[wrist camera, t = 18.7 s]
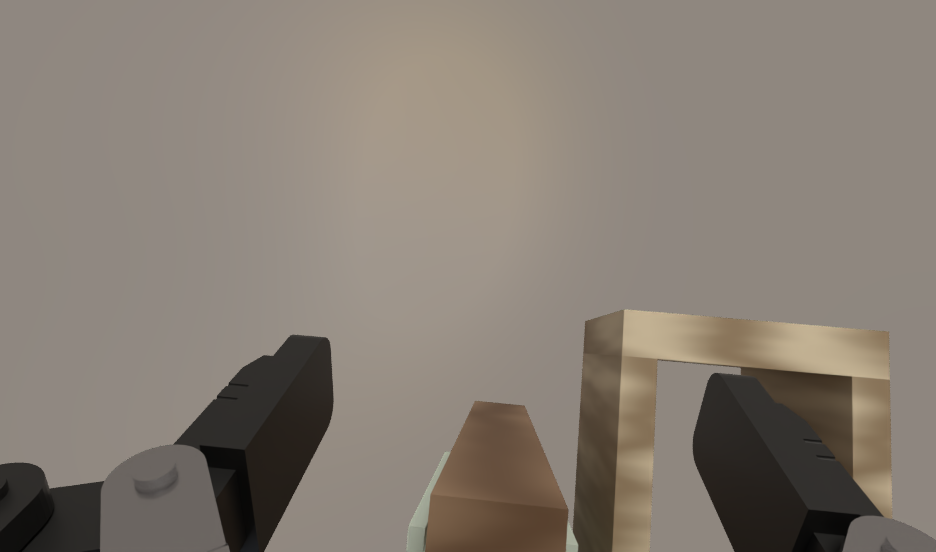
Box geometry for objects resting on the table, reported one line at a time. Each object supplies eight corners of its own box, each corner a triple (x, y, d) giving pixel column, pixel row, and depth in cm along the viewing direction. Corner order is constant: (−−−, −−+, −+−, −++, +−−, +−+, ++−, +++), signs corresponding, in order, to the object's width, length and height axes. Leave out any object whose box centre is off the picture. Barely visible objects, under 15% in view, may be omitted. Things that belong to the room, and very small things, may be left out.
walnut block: (520, 456, 36) (524, 405, 37) (558, 660, 13) (568, 509, 13) (470, 451, 37) (475, 400, 37) (416, 641, 13) (430, 493, 13)
